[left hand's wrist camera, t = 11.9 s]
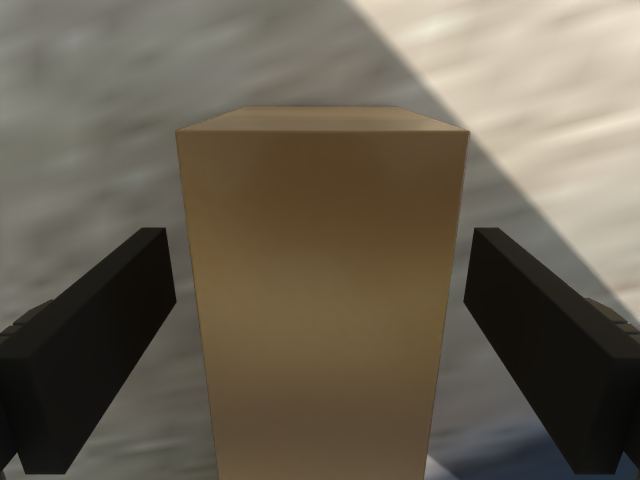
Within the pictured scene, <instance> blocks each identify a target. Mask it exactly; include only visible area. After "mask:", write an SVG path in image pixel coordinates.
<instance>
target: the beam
mask: <svg viewBox="0 0 640 480" xmlns="http://www.w3.org/2000/svg"><path fill="white" fill-rule="evenodd" d="M175 135H176V143H177V151H178V159H179V167H180V175H181V183H182V191H183V199H184V207H185V215H186V223H187V231H188V239H189V247H190V255H191V263H192V270H193V278H194V286H195V294H196V302H197V310H198V318H199V326H200V334H201V342H202V350H203V358H204V366H205V374H206V382H207V390H208V398H209V406H210V414H211V422H212V430H213V438H214V446H215V454H216V461H217V469H218V477H219V480H424V473H425V466H426V459H427V451H428V444H429V436H430V429H431V421H432V414H433V406H434V399H435V391H436V384H437V376H438V369H439V362H440V354H441V347H442V339H443V332H444V324H445V317H446V309H447V302H448V294H449V287H450V280H451V272H452V265H453V257H454V250H455V242H456V235H457V227H458V220H459V212H460V205H461V197H462V190H463V183H464V175H465V168H466V160H467V153H468V145H469V138H470V131H468V130H465V129H462V128H459V127H456V126H453V125H450V124H447V123H444V122H441V121H438V120H435V119H432V118H429V117H426V116H423V115H420V114H417V113H414V112H411V111H408V110H405V109H402V108H399V107H344V106H246V107H243V108H240V109H237V110H234V111H231V112H228V113H226V114H223V115H220V116H217V117H214V118H211V119H208V120H205V121H202V122H199V123H196V124H193V125H191V126H188V127H185V128H182V129H179V130H176V132H175Z"/></svg>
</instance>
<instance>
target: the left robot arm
mask: <svg viewBox="0 0 640 480" xmlns="http://www.w3.org/2000/svg"><path fill="white" fill-rule="evenodd" d="M463 302H464V304H465V305H466V307H467V308H468V310H469V311H470V313H471V315H472V316H473V318H474V319H475V321H476V322H477V324H478V325H479V327H480V328H481V330H482V331H483V333H484V335H485V336H486V338H487V339H488V341H489V342H490V344H491V345H492V347H493V348H494V350H495V352H496V353H497V355H498V356H499V358H500V359H501V361H502V362H503V364H504V365H505V367H506V368H507V370H508V372H509V373H510V375H511V376H512V378H513V379H514V381H515V382H516V384H517V385H518V387H519V388H520V390H521V392H522V393H523V395H524V396H525V398H526V399H527V401H528V402H529V404H530V405H531V407H532V408H533V410H534V412H535V413H536V415H537V416H538V418H539V419H540V421H541V422H542V424H543V425H544V427H545V428H546V430H547V432H548V433H549V435H550V436H551V438H552V439H553V441H554V442H555V444H556V445H557V447H558V448H559V450H560V452H561V453H562V455H563V456H564V458H565V459H566V461H567V462H568V464H569V465H570V467H571V468H572V470H573V472H574V473H575V474H615V471H616V469H617V466H618V463H619V461H620V458H621V455H622V453H623V451H624V452H625V453H626V454H627V456H628V457H629V458H630V459H631V460H632V462H633V463H634V464H635V465H636V466H637V468H638V470H637V472H636V475H635V477H634V480H640V331H639V330H638V329H636V328H635V327H634V326H632V325H631V324H628V323H627V321H626V320H625V319H624V318H622V317H621V316H620V315H618V314H617V313H616V312H615V311H613V310H612V309H610V308H608V307H606V306H604V305H602V304H600V303H598V302H596V301H594V300H592V299H590V298H583V297H582V296H581V295H579V294H578V293H577V292H576V291H575V290H573V289H572V288H571V287H570V286H568V285H567V284H566V283H565V282H564V281H562V280H561V279H560V278H559V277H558V276H556V275H555V274H554V273H553V272H551V271H550V270H549V269H548V268H547V267H545V266H544V265H543V264H542V263H540V262H539V261H538V260H537V259H536V258H534V257H533V256H532V255H531V254H530V253H528V252H527V251H526V250H525V249H523V248H522V247H521V246H520V245H519V244H517V243H516V242H515V241H514V240H513V239H511V238H510V237H509V236H508V235H506V234H505V233H504V232H503V231H502V230H500V229H499V228H474V234H473V241H472V248H471V254H470V261H469V268H468V275H467V281H466V288H465V295H464V301H463ZM175 304H176V295H175V288H174V281H173V275H172V268H171V261H170V254H169V248H168V241H167V234H166V228H141V229H140V230H138V231H137V232H136V233H135V234H134V235H132V236H131V237H130V238H129V239H127V240H126V241H125V242H124V243H123V244H121V245H120V246H119V247H118V248H117V249H115V250H114V251H113V252H112V253H110V254H109V255H108V256H107V257H106V258H104V259H103V260H102V261H101V262H99V263H98V264H97V265H96V266H95V267H93V268H92V269H91V270H90V271H89V272H87V273H86V274H85V275H84V276H82V277H81V278H80V279H79V280H78V281H76V282H75V283H74V284H73V285H71V286H70V287H69V288H68V289H67V290H65V291H64V292H63V293H62V294H61V295H59V296H58V297H57V298H56V299H54V300H49V301H47V302H45V303H43V304H41V305H39V306H37V307H35V308H33V309H31V310H29V311H28V312H27V313H25V314H24V315H23V316H21V317H20V318H19V319H18V320H16V321H15V322H14V323H13V326H9V327H7V328H6V329H5V330H4V331H2V332H1V333H0V480H6V477H5V475H4V472H3V469H4V468H5V466H6V465H7V464H8V463H9V462H10V460H11V459H12V458H13V457H14V455H15V454H16V453H18V455H19V458H20V461H21V463H22V466H23V469H24V471H25V474H65V473H66V472H67V470H68V468H69V467H70V465H71V464H72V462H73V461H74V459H75V458H76V456H77V455H78V453H79V452H80V450H81V448H82V447H83V445H84V444H85V442H86V441H87V439H88V438H89V436H90V435H91V433H92V432H93V430H94V428H95V427H96V425H97V424H98V422H99V421H100V419H101V418H102V416H103V415H104V413H105V412H106V410H107V408H108V407H109V405H110V404H111V402H112V401H113V399H114V398H115V396H116V395H117V393H118V392H119V390H120V388H121V387H122V385H123V384H124V382H125V381H126V379H127V378H128V376H129V375H130V373H131V372H132V370H133V368H134V367H135V365H136V364H137V362H138V361H139V359H140V358H141V356H142V355H143V353H144V351H145V350H146V348H147V347H148V345H149V344H150V342H151V341H152V339H153V338H154V336H155V335H156V333H157V331H158V330H159V328H160V327H161V325H162V324H163V322H164V321H165V319H166V318H167V316H168V315H169V313H170V311H171V310H172V308H173V307H174V305H175Z"/></svg>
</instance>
